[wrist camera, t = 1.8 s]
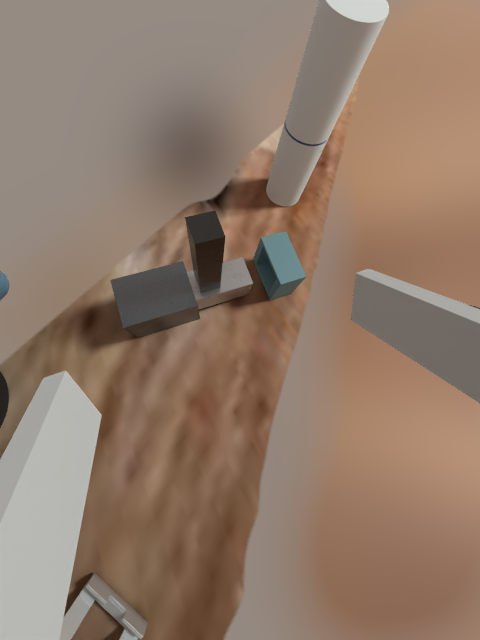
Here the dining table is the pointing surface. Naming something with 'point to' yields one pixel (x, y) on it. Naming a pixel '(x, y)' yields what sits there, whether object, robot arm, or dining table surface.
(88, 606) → the portable electronic device stand
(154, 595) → the dining table surface
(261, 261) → the socket block
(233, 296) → the gray bar with post
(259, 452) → the dining table surface
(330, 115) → the cylindrical container
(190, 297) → the matte charcoal box
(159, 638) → the dining table surface
